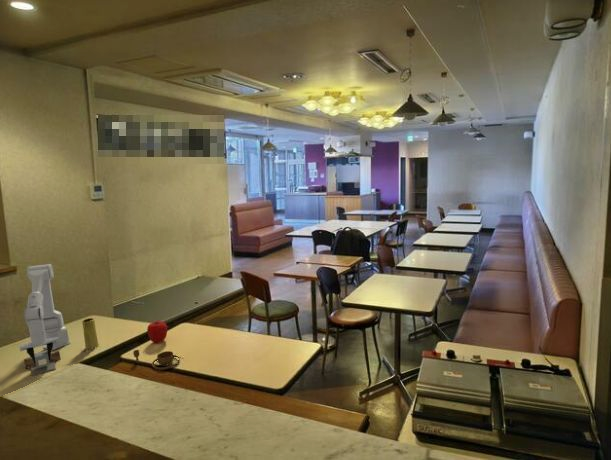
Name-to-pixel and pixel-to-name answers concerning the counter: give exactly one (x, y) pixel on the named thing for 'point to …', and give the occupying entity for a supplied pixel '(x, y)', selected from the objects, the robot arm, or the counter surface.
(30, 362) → the walnut screen
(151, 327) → the apple
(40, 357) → the slate cube
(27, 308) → the robot arm
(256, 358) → the counter surface
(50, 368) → the mat
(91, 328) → the vase
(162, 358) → the place setting
